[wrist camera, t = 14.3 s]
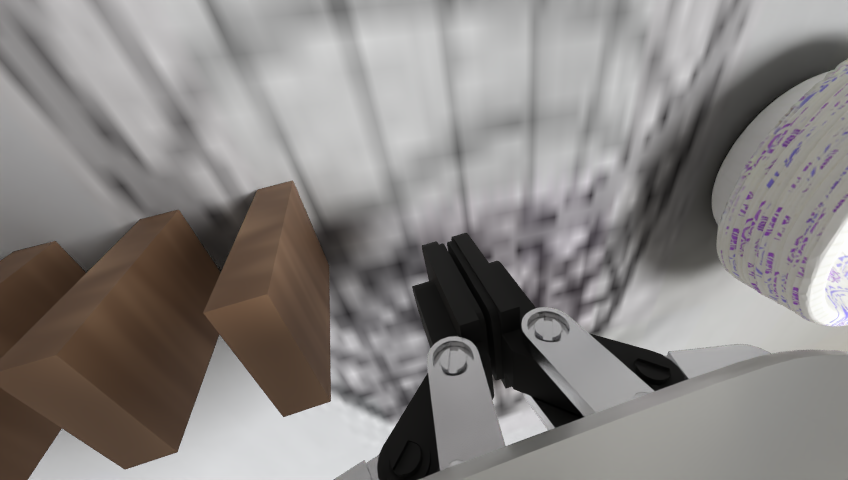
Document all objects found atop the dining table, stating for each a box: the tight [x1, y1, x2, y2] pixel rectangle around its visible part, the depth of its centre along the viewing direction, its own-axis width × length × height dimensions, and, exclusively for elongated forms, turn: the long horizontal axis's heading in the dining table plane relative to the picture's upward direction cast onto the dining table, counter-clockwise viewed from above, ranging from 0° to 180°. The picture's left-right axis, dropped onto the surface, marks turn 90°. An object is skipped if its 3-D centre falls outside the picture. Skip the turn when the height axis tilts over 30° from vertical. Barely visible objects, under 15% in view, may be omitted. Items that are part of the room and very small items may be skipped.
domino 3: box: [203, 181, 331, 417], centre depth 13 cm, size 2×5×8 cm, turn 10°
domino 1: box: [0, 241, 86, 480], centre depth 12 cm, size 2×5×8 cm, turn 10°
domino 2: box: [0, 210, 221, 469], centre depth 13 cm, size 2×5×8 cm, turn 10°
